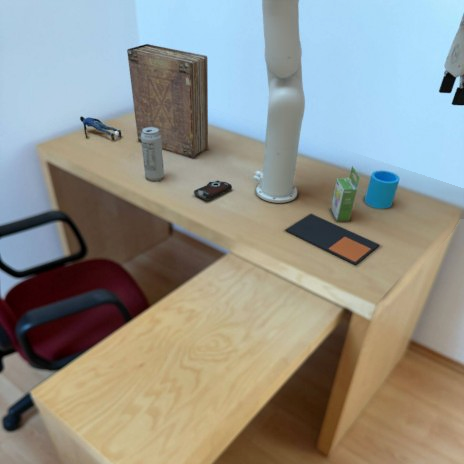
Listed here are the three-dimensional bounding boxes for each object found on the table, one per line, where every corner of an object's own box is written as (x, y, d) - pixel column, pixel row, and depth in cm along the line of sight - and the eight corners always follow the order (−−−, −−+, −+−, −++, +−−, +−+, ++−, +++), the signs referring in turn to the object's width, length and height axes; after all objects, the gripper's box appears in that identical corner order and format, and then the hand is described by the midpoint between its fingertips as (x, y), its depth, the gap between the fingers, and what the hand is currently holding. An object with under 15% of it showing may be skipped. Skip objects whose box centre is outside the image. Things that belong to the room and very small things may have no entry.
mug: (393, 210, 130) (401, 184, 125) (365, 206, 131) (371, 181, 125) (389, 191, 139) (397, 166, 133) (363, 188, 140) (369, 163, 134)
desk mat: (285, 231, 120) (285, 229, 119) (310, 215, 126) (311, 213, 126) (355, 265, 109) (355, 263, 109) (378, 246, 116) (379, 244, 115)
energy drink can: (168, 177, 141) (164, 130, 131) (153, 183, 137) (148, 135, 127) (156, 171, 144) (151, 124, 134) (141, 177, 140) (135, 129, 130)
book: (208, 150, 158) (208, 56, 137) (193, 158, 152) (190, 62, 131) (154, 133, 167) (145, 43, 147) (137, 141, 161) (126, 48, 141)
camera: (191, 187, 131) (217, 176, 137) (192, 196, 133) (217, 185, 139) (206, 193, 128) (232, 181, 134) (207, 202, 129) (232, 190, 136)
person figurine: (128, 139, 166) (91, 122, 171) (127, 127, 163) (90, 110, 168) (108, 148, 159) (70, 130, 164) (108, 136, 156) (69, 118, 160)
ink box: (330, 209, 129) (339, 165, 120) (343, 209, 130) (353, 165, 120) (336, 221, 124) (345, 177, 115) (349, 221, 125) (360, 177, 115)
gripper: (449, 13, 108) (426, 87, 120) (477, 27, 96) (448, 109, 107) (479, 14, 109) (453, 89, 120) (511, 29, 96) (478, 110, 107)
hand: (451, 98), depth 114 cm, fingers open, 9 cm apart
